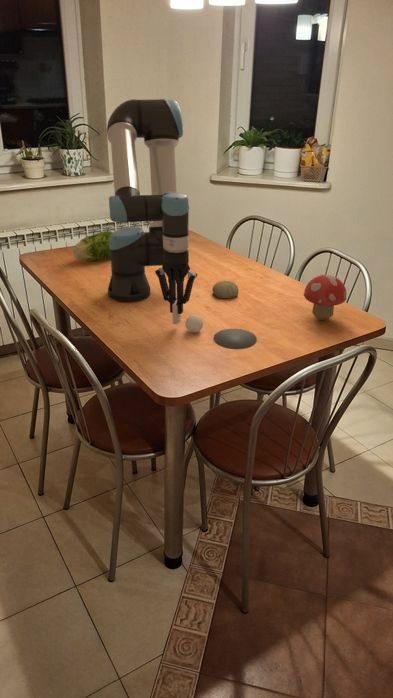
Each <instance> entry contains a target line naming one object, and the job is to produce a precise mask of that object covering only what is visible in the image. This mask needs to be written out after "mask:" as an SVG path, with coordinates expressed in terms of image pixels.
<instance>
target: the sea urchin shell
mask: <svg viewBox="0 0 393 698" xmlns="http://www.w3.org/2000/svg"><path fill="white" fill-rule="evenodd" d="M212 293H213V295H215V297H217V298H219V299H231V298H235V297H236V296H238V294H239V287H238V285H237V284H236V283H235V282H232V281H231V280H221V281H218V282H216V283H214V285H213V286H212Z"/></svg>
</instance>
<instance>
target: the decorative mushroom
mask: <svg viewBox="0 0 393 698" xmlns="http://www.w3.org/2000/svg"><path fill="white" fill-rule="evenodd" d="M303 296H304V299H306V301H308V302H309V303H311V304H313V305H312V311H311V313H312V315H313V316H314V317H315V318H316V319H318V320H320V321H325V320H329V319H330V318H331V317H333V315H334V311H335V310H334V309H335V306H339V305H341V304H344V303H345V301H346V300H347V289H346V287H345V284H344V283H343V281H342V280H340V279H339V278H338V277H336V276H334V275H332V274H320V275H316V276H315V277H313V278H312V279H311V280H310V281H309V282H308V283H307V284H306V286H305V288H304V292H303Z"/></svg>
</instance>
